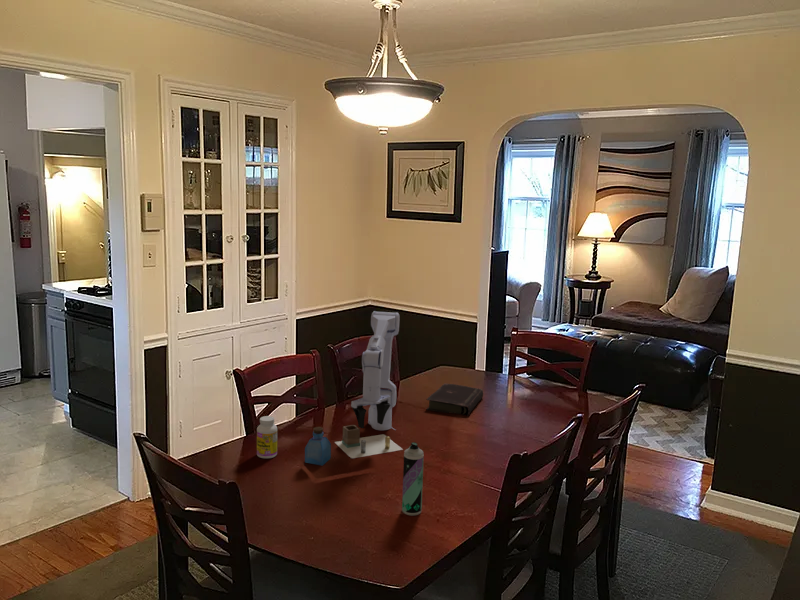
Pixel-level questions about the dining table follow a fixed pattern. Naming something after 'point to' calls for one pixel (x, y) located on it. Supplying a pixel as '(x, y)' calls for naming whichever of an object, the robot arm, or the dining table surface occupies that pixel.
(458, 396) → the diary
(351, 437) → the walnut sleeve
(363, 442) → the steel pin
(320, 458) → the perfume bottle
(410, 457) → the spray can
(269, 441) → the supplement bottle
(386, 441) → the brass pin
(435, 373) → the dining table surface
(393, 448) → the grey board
